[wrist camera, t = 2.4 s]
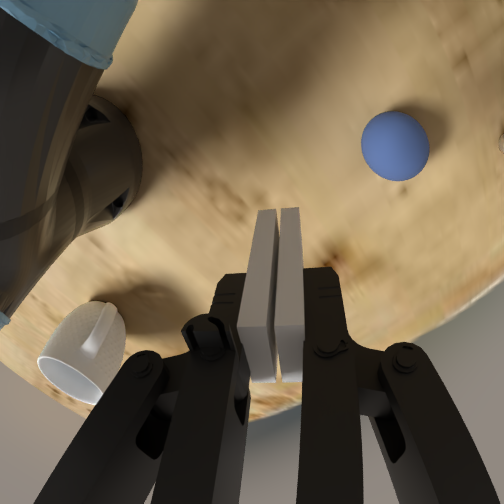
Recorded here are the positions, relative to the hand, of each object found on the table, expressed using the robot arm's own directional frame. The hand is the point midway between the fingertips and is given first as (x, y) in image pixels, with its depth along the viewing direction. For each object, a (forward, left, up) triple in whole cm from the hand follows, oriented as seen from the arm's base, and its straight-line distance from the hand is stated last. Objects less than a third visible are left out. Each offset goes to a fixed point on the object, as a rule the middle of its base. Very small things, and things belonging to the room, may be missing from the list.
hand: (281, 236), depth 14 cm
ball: (+9, 0, -13) cm, 16 cm away
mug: (-29, -21, -17) cm, 39 cm away
